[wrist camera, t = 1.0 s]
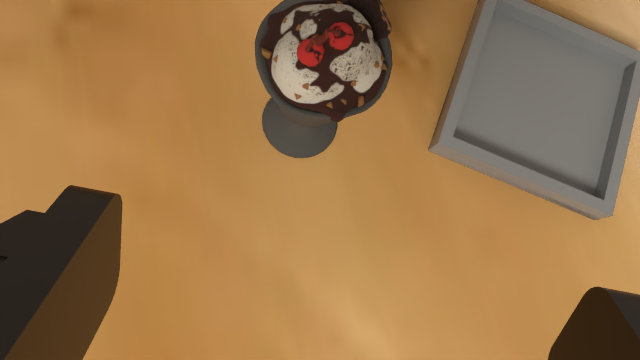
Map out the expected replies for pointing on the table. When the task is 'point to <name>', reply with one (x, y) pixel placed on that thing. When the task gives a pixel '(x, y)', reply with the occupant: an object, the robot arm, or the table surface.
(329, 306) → the table surface
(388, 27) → the sundae
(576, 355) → the robot arm
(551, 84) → the tray
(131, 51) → the table surface
